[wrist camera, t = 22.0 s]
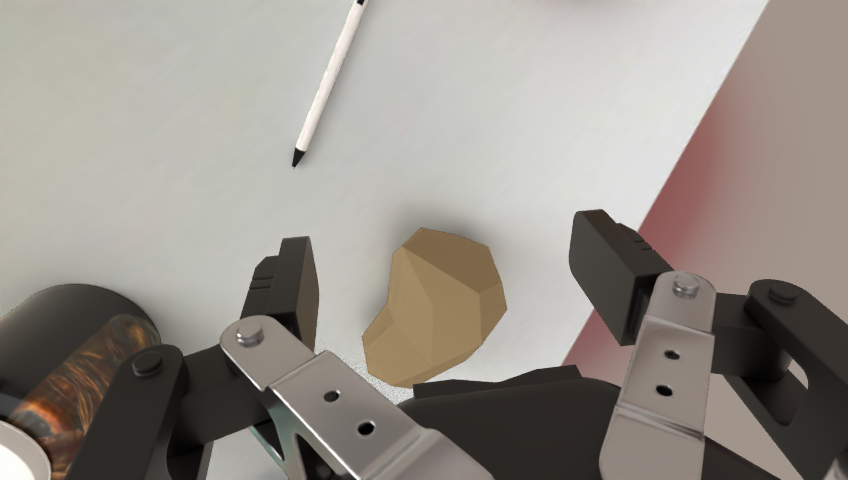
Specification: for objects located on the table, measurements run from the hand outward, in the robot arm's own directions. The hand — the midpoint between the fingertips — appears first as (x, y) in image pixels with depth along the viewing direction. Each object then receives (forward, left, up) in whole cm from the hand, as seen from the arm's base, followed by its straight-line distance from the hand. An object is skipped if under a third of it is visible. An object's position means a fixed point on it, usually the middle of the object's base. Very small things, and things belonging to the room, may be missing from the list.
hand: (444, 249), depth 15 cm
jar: (-4, -34, -26) cm, 43 cm away
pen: (-6, 0, -26) cm, 27 cm away
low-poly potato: (+12, -9, -26) cm, 30 cm away
